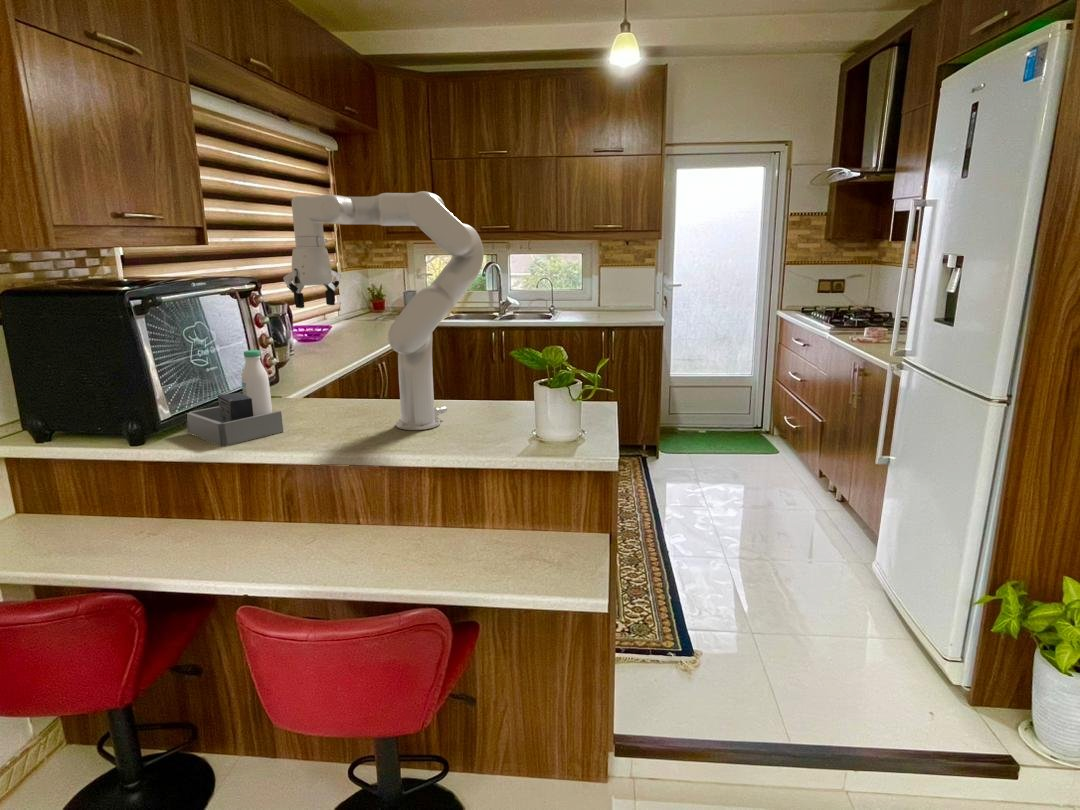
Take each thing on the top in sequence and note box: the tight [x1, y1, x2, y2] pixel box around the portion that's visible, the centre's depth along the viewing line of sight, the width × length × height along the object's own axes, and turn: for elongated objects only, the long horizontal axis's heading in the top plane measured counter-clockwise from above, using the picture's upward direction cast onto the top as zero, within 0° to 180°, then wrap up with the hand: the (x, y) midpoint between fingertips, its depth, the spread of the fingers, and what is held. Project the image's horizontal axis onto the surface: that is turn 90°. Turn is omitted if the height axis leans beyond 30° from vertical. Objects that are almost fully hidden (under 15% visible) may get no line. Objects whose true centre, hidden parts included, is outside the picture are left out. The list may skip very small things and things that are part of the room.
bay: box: [185, 405, 284, 447], centre depth 186 cm, size 17×20×6 cm
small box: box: [217, 392, 253, 423], centre depth 186 cm, size 11×6×10 cm, turn 41°
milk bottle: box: [241, 349, 273, 416], centre depth 204 cm, size 8×8×20 cm
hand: (315, 306), depth 186 cm, fingers open, 9 cm apart
